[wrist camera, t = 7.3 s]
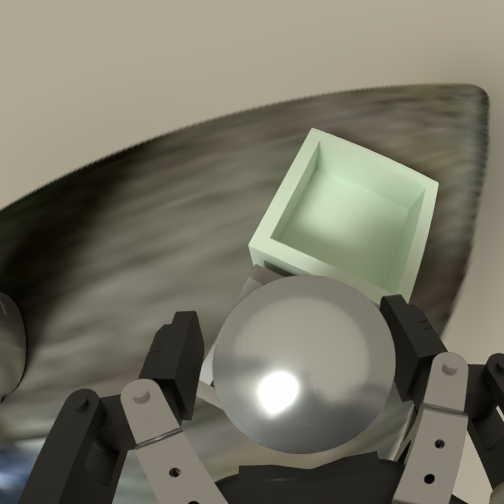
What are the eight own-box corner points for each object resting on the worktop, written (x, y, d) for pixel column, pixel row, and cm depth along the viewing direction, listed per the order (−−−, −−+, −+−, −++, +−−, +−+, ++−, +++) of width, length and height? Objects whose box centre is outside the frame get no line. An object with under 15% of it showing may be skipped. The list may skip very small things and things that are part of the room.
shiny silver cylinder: (305, 411, 15) (349, 491, 5) (234, 377, 16) (163, 407, 6) (340, 340, 16) (434, 309, 6) (270, 308, 17) (257, 229, 7)
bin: (379, 325, 17) (404, 315, 14) (254, 267, 19) (248, 245, 16) (415, 211, 20) (438, 183, 16) (307, 164, 22) (312, 127, 18)
